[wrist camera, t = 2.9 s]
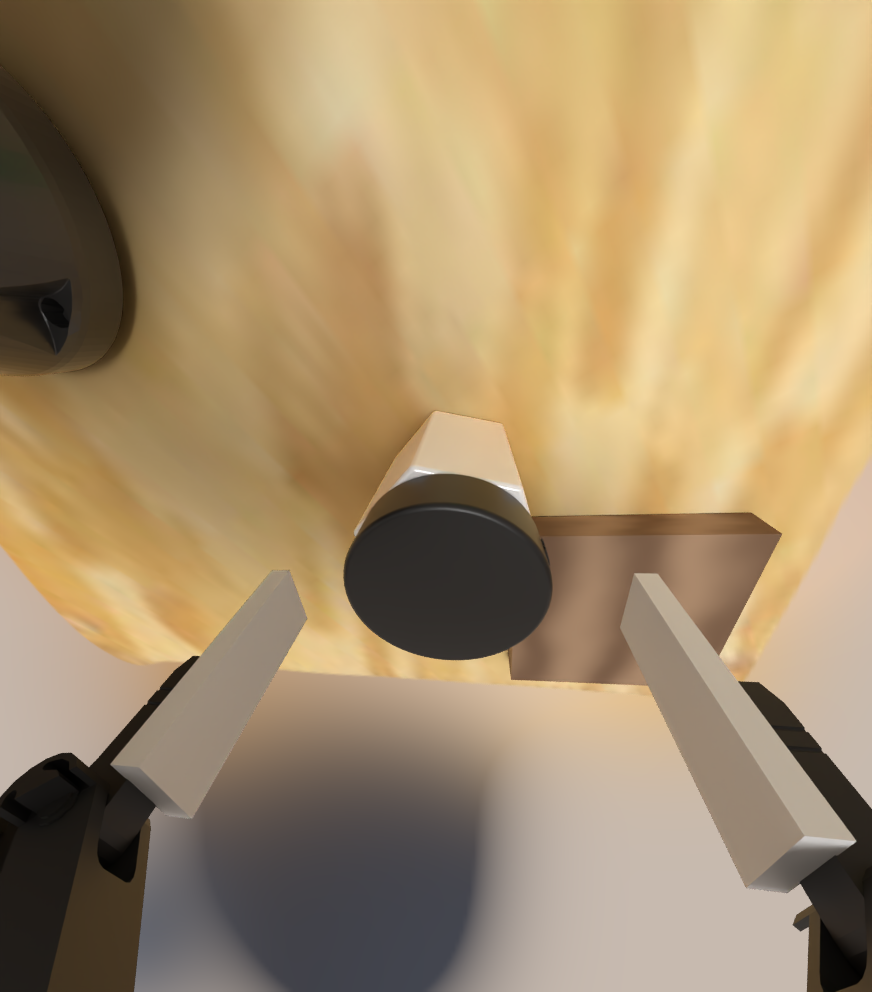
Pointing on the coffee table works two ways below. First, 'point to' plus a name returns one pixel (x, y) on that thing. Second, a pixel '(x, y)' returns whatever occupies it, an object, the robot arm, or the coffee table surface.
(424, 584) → the jar
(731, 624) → the plinth
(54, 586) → the coffee table surface
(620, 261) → the coffee table surface
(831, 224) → the coffee table surface
